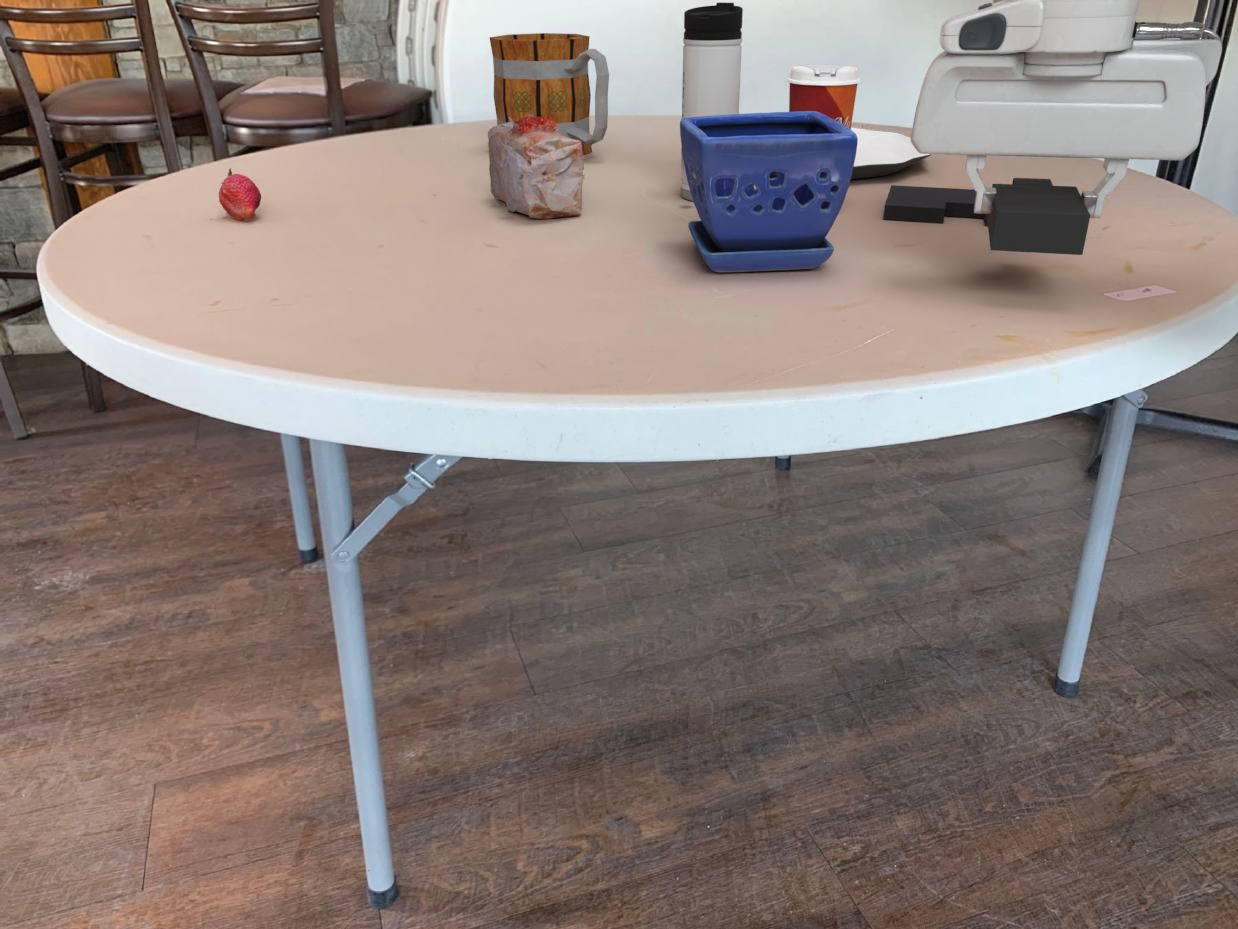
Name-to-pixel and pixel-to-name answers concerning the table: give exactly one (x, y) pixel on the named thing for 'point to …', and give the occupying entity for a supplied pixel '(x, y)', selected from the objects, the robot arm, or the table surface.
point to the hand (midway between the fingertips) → (1034, 214)
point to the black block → (1038, 218)
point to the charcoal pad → (930, 204)
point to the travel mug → (710, 65)
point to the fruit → (239, 196)
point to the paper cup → (824, 90)
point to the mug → (550, 82)
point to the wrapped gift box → (536, 168)
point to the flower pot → (766, 187)
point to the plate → (881, 153)
